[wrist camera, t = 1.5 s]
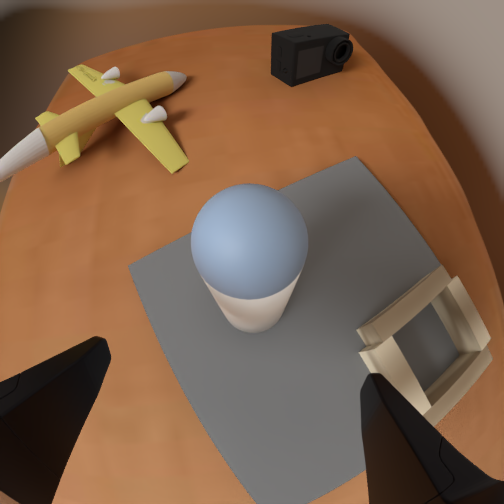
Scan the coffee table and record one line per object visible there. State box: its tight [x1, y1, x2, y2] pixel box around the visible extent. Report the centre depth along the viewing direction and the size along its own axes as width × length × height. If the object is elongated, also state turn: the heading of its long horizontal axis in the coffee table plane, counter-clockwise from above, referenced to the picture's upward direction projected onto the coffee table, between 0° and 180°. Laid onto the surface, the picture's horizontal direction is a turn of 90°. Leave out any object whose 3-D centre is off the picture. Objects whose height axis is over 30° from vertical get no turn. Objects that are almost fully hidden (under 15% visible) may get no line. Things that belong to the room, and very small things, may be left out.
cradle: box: [357, 265, 493, 427], centre depth 17 cm, size 9×9×3 cm
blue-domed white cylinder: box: [191, 184, 308, 333], centre depth 14 cm, size 4×4×12 cm
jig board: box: [128, 156, 460, 504], centre depth 20 cm, size 23×23×1 cm
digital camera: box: [271, 24, 353, 87], centre depth 30 cm, size 10×5×7 cm, turn 126°
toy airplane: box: [0, 65, 189, 182], centre depth 26 cm, size 26×7×30 cm
